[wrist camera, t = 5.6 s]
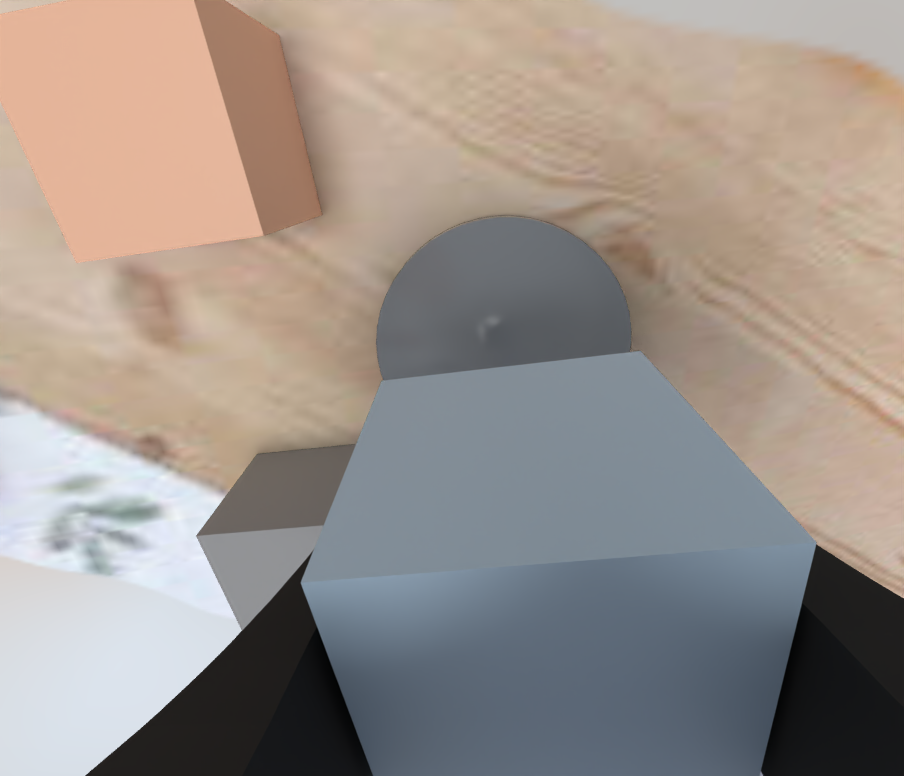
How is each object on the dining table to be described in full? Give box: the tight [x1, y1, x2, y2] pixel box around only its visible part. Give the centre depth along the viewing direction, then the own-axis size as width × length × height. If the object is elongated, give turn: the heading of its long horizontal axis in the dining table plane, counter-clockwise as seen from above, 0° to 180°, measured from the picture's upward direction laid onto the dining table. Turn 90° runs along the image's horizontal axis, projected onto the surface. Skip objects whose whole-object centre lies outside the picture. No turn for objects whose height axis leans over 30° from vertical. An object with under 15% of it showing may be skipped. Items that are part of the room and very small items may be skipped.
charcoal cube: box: [196, 444, 356, 630], centre depth 19 cm, size 5×5×5 cm
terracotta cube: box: [0, 0, 322, 263], centre depth 13 cm, size 5×5×5 cm
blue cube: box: [301, 351, 817, 776], centre depth 8 cm, size 5×5×5 cm
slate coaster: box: [376, 216, 631, 380], centre depth 17 cm, size 9×9×1 cm
